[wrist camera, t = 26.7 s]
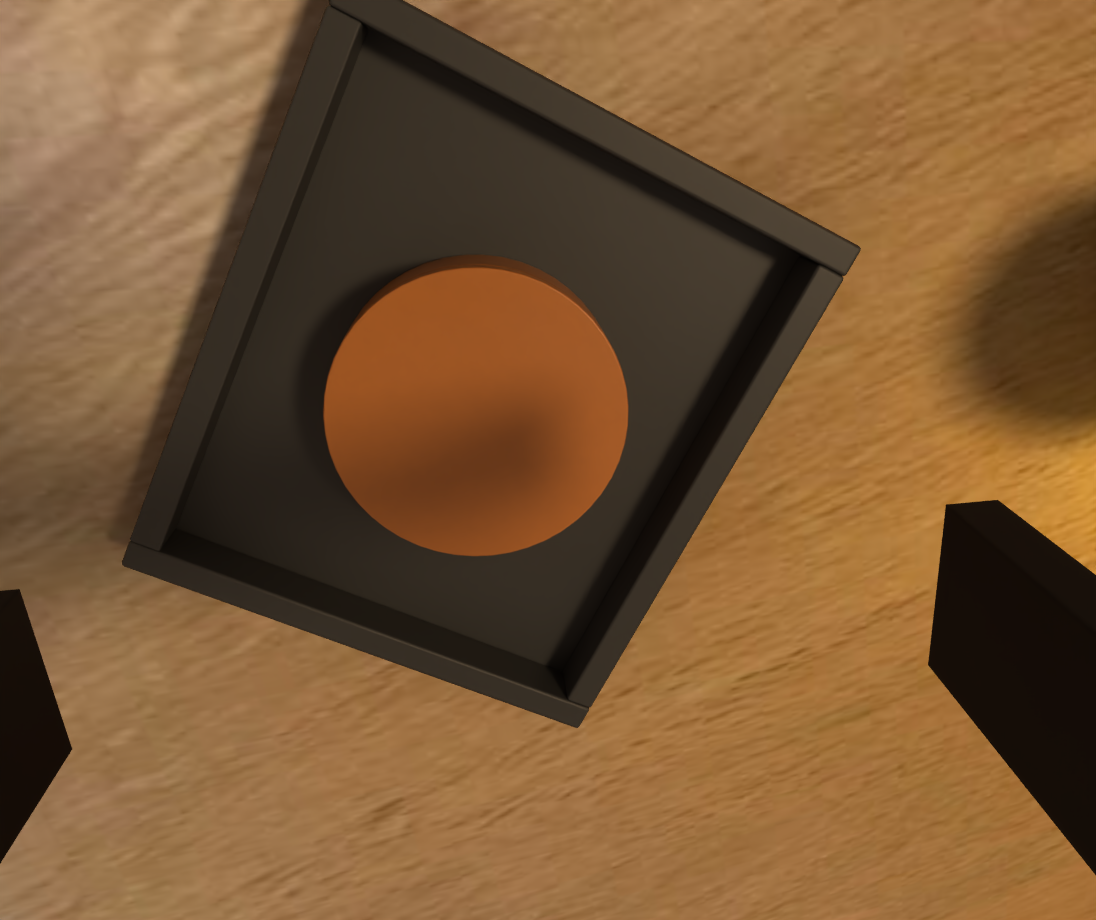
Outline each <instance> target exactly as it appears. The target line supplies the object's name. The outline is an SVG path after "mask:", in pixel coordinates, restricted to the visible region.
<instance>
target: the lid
mask: <svg viewBox="0 0 1096 920" xmlns="http://www.w3.org/2000/svg"><path fill="white" fill-rule="evenodd" d="M323 418H324V428H325V436H326V440H327V444H328V448H329V452H330V455H331V458H332V460H333V463H334V465H335V468H336V470H337V472H338V474H339V476H340V478H341V479H342V481H343V483H344V485H345V487H346V488H347V489H348V491H349V492H350V493H351V495H352V496H353V497H354V499H355V500H356V501H357V503H358V504H359V505H360V506H361V507H362V508H363V509H364V510H365V511H366V512H367V513H368V514H369V515H370V516H371V517H372V518H374V519H375V520H376V521H377V522H379V523H380V524H381V525H382V526H384V527H385V528H386V529H388V530H390V531H391V532H393V533H395V534H396V535H398V536H399V537H401V538H403V539H405V540H408V541H410V542H412V543H414V544H416V545H419V546H422V547H425V548H428V549H431V550H434V551H438V552H443V553H448V554H453V555H464V556H491V555H498V554H504V553H510V552H514V551H518V550H521V549H525V548H528V547H531V546H533V545H536V544H538V543H540V542H543V541H545V540H547V539H549V538H551V537H552V536H554V535H556V534H558V533H560V532H561V531H563V530H564V529H565V528H567V527H568V526H570V525H571V524H572V523H574V522H575V521H576V520H577V519H579V518H580V517H581V516H582V515H583V514H584V513H585V512H586V511H587V510H588V509H589V508H590V507H591V506H592V505H593V503H594V502H595V501H596V500H597V499H598V497H599V496H600V495H601V494H602V492H603V491H604V489H605V488H606V486H607V484H608V483H609V481H610V480H611V478H612V476H613V474H614V472H615V469H616V467H617V465H618V463H619V461H620V457H621V454H622V451H623V448H624V445H625V439H626V433H627V427H628V398H627V388H626V384H625V380H624V376H623V372H622V369H621V366H620V364H619V361H618V359H617V356H616V354H615V351H614V349H613V348H612V346H611V344H610V342H609V341H608V339H607V337H606V335H605V334H604V332H603V330H602V329H601V327H600V325H599V324H598V322H597V320H596V319H595V317H594V316H593V315H592V313H591V312H590V311H589V309H588V308H587V307H586V305H585V304H584V303H583V302H582V301H581V300H580V299H579V298H578V297H577V296H576V295H575V294H574V293H573V292H572V291H571V290H570V289H569V288H567V287H566V286H565V285H563V284H562V283H561V282H559V281H558V280H557V279H555V278H554V277H552V276H550V275H548V274H547V273H545V272H543V271H541V270H540V269H538V268H535V267H533V266H530V265H528V264H525V263H523V262H520V261H516V260H512V259H508V258H504V257H498V256H490V255H459V256H452V257H446V258H441V259H438V260H434V261H431V262H427V263H424V264H422V265H420V266H418V267H415V268H413V269H411V270H408V271H407V272H405V273H403V274H402V275H400V276H398V277H397V278H395V279H393V280H392V281H390V282H389V283H388V284H387V285H386V286H384V287H383V288H382V289H381V290H379V291H378V292H377V293H376V294H375V295H374V296H373V297H372V298H371V299H370V300H369V302H368V303H367V304H366V305H365V306H364V307H363V308H362V310H361V311H360V313H359V314H358V316H357V317H356V318H355V320H354V321H353V323H352V325H351V326H350V328H349V330H348V332H347V334H346V335H345V337H344V339H343V341H342V343H341V345H340V347H339V349H338V351H337V353H336V355H335V357H334V359H333V362H332V365H331V368H330V371H329V374H328V377H327V382H326V388H325V393H324V408H323Z"/></svg>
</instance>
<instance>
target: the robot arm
mask: <svg viewBox="0 0 1096 920" xmlns="http://www.w3.org/2000/svg"><path fill="white" fill-rule="evenodd" d="M928 665H929V667H930V668H931V669H932V670H933V672H934V673H935V674H936V675H937V677H938V678H939V679H940V680H941V682H942V683H943V684H944V685H945V687H946V688H947V689H948V690H949V692H950V693H951V694H952V695H953V697H954V698H955V699H956V700H957V702H958V703H959V704H960V705H961V707H962V708H963V709H964V710H965V712H966V713H967V714H968V715H969V717H970V718H971V719H972V720H973V722H974V723H975V724H976V726H977V727H978V728H979V729H980V731H981V732H982V733H983V734H984V736H985V737H986V738H987V739H988V741H989V742H990V743H991V744H992V746H993V747H994V748H995V749H996V751H997V752H998V753H999V754H1000V756H1001V757H1002V758H1003V759H1004V761H1005V762H1006V763H1007V764H1008V766H1009V767H1010V768H1011V769H1012V771H1013V772H1014V773H1015V774H1016V776H1017V777H1018V778H1019V779H1020V781H1021V782H1022V783H1023V784H1024V786H1025V787H1026V788H1027V789H1028V791H1029V792H1030V793H1031V794H1032V796H1033V797H1034V798H1035V799H1036V801H1037V802H1038V803H1039V805H1040V806H1041V807H1042V808H1043V810H1044V811H1045V812H1046V813H1047V815H1048V816H1049V817H1050V818H1051V820H1052V821H1053V822H1054V823H1055V825H1056V826H1057V827H1058V828H1059V830H1060V831H1061V832H1062V833H1063V835H1064V836H1065V837H1066V838H1067V840H1068V841H1069V842H1070V843H1071V845H1072V846H1073V847H1074V848H1075V850H1076V851H1077V852H1078V853H1079V855H1080V856H1081V857H1082V858H1083V860H1084V861H1085V862H1086V863H1087V865H1088V866H1089V867H1090V868H1091V870H1092V871H1093V872H1094V873H1095V875H1096V575H1095V574H1094V573H1092V572H1091V571H1090V570H1088V569H1087V568H1086V567H1084V566H1083V565H1082V564H1081V563H1079V562H1078V561H1077V560H1075V559H1074V558H1073V557H1071V556H1070V555H1069V554H1067V553H1066V552H1065V551H1064V550H1062V549H1061V548H1060V547H1058V546H1057V545H1056V544H1054V543H1053V542H1052V541H1051V540H1049V539H1048V538H1047V537H1045V536H1044V535H1043V534H1041V533H1040V532H1039V531H1038V530H1036V529H1035V528H1034V527H1032V526H1031V525H1030V524H1028V523H1027V522H1026V521H1024V520H1023V519H1022V518H1021V517H1019V516H1018V515H1017V514H1015V513H1014V512H1013V511H1011V510H1010V509H1009V508H1008V507H1006V506H1005V505H1004V504H1002V503H1001V502H1000V501H998V500H992V501H981V502H970V503H959V504H948V505H946V510H945V519H944V528H943V537H942V546H941V555H940V564H939V573H938V582H937V590H936V599H935V608H934V617H933V626H932V635H931V644H930V653H929V662H928ZM71 750H72V747H71V744H70V741H69V738H68V735H67V732H66V729H65V726H64V723H63V720H62V717H61V714H60V711H59V708H58V705H57V702H56V699H55V696H54V693H53V690H52V686H51V683H50V680H49V677H48V674H47V671H46V668H45V665H44V662H43V659H42V656H41V653H40V650H39V647H38V644H37V641H36V638H35V635H34V632H33V629H32V626H31V623H30V620H29V617H28V613H27V610H26V607H25V604H24V601H23V598H22V595H21V592H20V589H16V590H5V591H0V863H1V861H2V860H3V858H4V857H5V855H6V853H7V852H8V850H9V849H10V847H11V846H12V844H13V842H14V841H15V839H16V838H17V836H18V834H19V833H20V831H21V830H22V828H23V826H24V825H25V823H26V822H27V820H28V819H29V817H30V815H31V814H32V812H33V811H34V809H35V807H36V806H37V804H38V803H39V801H40V800H41V798H42V796H43V795H44V793H45V792H46V790H47V788H48V787H49V785H50V784H51V782H52V781H53V779H54V777H55V776H56V774H57V773H58V771H59V769H60V768H61V766H62V765H63V763H64V761H65V760H66V758H67V757H68V755H69V754H70V752H71Z"/></svg>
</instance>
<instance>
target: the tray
mask: <svg viewBox="0 0 1096 920" xmlns="http://www.w3.org/2000/svg"><path fill="white" fill-rule="evenodd" d="M329 4H330V6H327V7H326V9H325V12H324V15H323V17H322V20H321V23H320V25H319V28H318V31H317V34H316V36H315V39H314V42H313V44H312V47H311V50H310V53H309V55H308V58H307V61H306V63H305V66H304V69H303V71H302V74H301V77H300V80H299V82H298V85H297V88H296V90H295V93H294V96H293V99H292V101H291V104H290V107H289V109H288V112H287V115H286V118H285V120H284V123H283V126H282V128H281V131H280V134H279V137H278V139H277V142H276V145H275V147H274V150H273V153H272V156H271V158H270V161H269V164H268V166H267V169H266V172H265V175H264V177H263V180H262V183H261V185H260V188H259V191H258V194H257V196H256V199H255V202H254V204H253V207H252V210H251V213H250V215H249V218H248V221H247V223H246V226H245V229H244V231H243V234H242V237H241V240H240V242H239V245H238V248H237V250H236V253H235V256H234V259H233V261H232V264H231V267H230V269H229V272H228V275H227V278H226V280H225V283H224V286H223V288H222V291H221V294H220V297H219V299H218V302H217V305H216V307H215V310H214V313H213V316H212V318H211V321H210V324H209V326H208V329H207V332H206V335H205V337H204V340H203V343H202V345H201V348H200V351H199V354H198V356H197V359H196V362H195V364H194V367H193V370H192V373H191V375H190V378H189V381H188V383H187V386H186V389H185V392H184V394H183V397H182V400H181V402H180V405H179V408H178V410H177V413H176V416H175V419H174V421H173V424H172V427H171V429H170V432H169V435H168V438H167V440H166V443H165V446H164V448H163V451H162V454H161V457H160V459H159V462H158V465H157V467H156V470H155V473H154V476H153V478H152V481H151V484H150V486H149V489H148V492H147V495H146V497H145V500H144V503H143V505H142V508H141V511H140V514H139V516H138V519H137V522H136V524H135V527H134V530H133V533H132V535H131V538H130V540H131V541H130V542H129V544H128V547H127V550H126V552H125V555H124V558H123V560H122V565H123V566H125V567H128V568H131V569H133V570H136V571H139V572H142V573H145V574H147V575H150V576H153V577H156V578H159V579H161V580H164V581H167V582H170V583H173V584H175V585H178V586H181V587H184V588H187V589H189V590H192V591H195V592H198V593H201V594H203V595H206V596H209V597H212V598H214V599H217V600H220V601H223V602H226V603H228V604H231V605H234V606H237V607H240V608H242V609H245V610H248V611H251V612H254V613H256V614H259V615H262V616H265V617H268V618H270V619H273V620H276V621H279V622H282V623H284V624H287V625H290V626H293V627H296V628H298V629H301V630H304V631H307V632H310V633H312V634H315V635H318V636H321V637H324V638H326V639H329V640H332V641H335V642H338V643H340V644H343V645H346V646H349V647H352V648H354V649H357V650H360V651H363V652H366V653H368V654H371V655H374V656H377V657H380V658H382V659H385V660H388V661H391V662H394V663H396V664H399V665H402V666H405V667H407V668H410V669H413V670H416V671H419V672H421V673H424V674H427V675H430V676H433V677H435V678H438V679H441V680H444V681H447V682H449V683H452V684H455V685H458V686H461V687H463V688H466V689H469V690H472V691H475V692H477V693H480V694H483V695H486V696H489V697H491V698H494V699H497V700H500V701H503V702H505V703H508V704H511V705H514V706H517V707H519V708H522V709H525V710H528V711H531V712H533V713H536V714H539V715H542V716H545V717H547V718H550V719H553V720H556V721H559V722H561V723H564V724H567V725H570V726H573V727H575V728H578V727H579V726H580V724H581V723H582V721H583V719H584V718H585V716H586V714H587V712H588V711H589V707H591V706H592V704H593V702H594V701H595V699H596V697H597V696H598V694H599V692H600V691H601V689H602V687H603V685H604V684H605V682H606V680H607V679H608V677H609V675H610V674H611V672H612V670H613V669H614V667H615V665H616V663H617V662H618V660H619V658H620V657H621V655H622V653H623V652H624V650H625V648H626V647H627V645H628V643H629V641H630V640H631V638H632V636H633V635H634V633H635V631H636V630H637V628H638V626H639V625H640V623H641V621H642V619H643V618H644V616H645V614H646V613H647V611H648V609H649V608H650V606H651V604H652V603H653V601H654V599H655V597H656V596H657V594H658V592H659V591H660V589H661V587H662V586H663V584H664V582H665V581H666V579H667V577H668V575H669V574H670V572H671V570H672V569H673V567H674V565H675V564H676V562H677V560H678V559H679V557H680V555H681V553H682V552H683V550H684V548H685V547H686V545H687V543H688V542H689V540H690V538H691V537H692V535H693V533H694V531H695V530H696V528H697V526H698V525H699V523H700V521H701V520H702V518H703V516H704V515H705V513H706V511H707V509H708V508H709V506H710V504H711V503H712V501H713V499H714V498H715V496H716V494H717V493H718V491H719V489H720V487H721V486H722V484H723V482H724V481H725V479H726V477H727V476H728V474H729V472H730V471H731V469H732V467H733V465H734V464H735V462H736V460H737V459H738V457H739V455H740V454H741V452H742V450H743V449H744V447H745V445H746V443H747V442H748V440H749V438H750V437H751V435H752V433H753V432H754V430H755V428H756V427H757V425H758V423H759V421H760V420H761V418H762V416H763V415H764V413H765V411H766V410H767V408H768V406H769V405H770V403H771V401H772V399H773V398H774V396H775V394H776V393H777V391H778V389H779V388H780V386H781V384H782V383H783V381H784V379H785V377H786V376H787V374H788V372H789V371H790V369H791V367H792V366H793V364H794V362H795V361H796V359H797V357H798V355H799V354H800V352H801V350H802V349H803V347H804V345H805V344H806V342H807V340H808V339H809V337H810V335H811V333H812V332H813V330H814V328H815V327H816V325H817V323H818V322H819V320H820V318H821V317H822V315H823V313H824V311H825V310H826V308H827V306H828V305H829V303H830V301H831V300H832V298H833V296H834V295H835V293H836V291H837V289H838V288H839V286H840V284H841V283H842V281H843V277H842V276H845V275H846V274H847V272H848V271H849V269H850V267H851V266H852V264H853V262H854V261H855V259H856V257H857V255H858V254H859V252H860V250H861V248H860V247H859V246H858V245H856V244H854V243H852V242H850V241H848V240H847V239H845V238H843V237H841V236H839V235H837V234H835V233H834V232H832V231H830V230H828V229H826V228H824V227H822V226H821V225H819V224H817V223H815V222H813V221H811V220H810V219H808V218H806V217H804V216H802V215H800V214H798V213H797V212H795V211H793V210H791V209H789V208H787V207H785V206H784V205H782V204H780V203H778V202H776V201H774V200H772V199H771V198H769V197H767V196H765V195H763V194H761V193H759V192H758V191H756V190H754V189H752V188H750V187H748V186H746V185H745V184H743V183H741V182H739V181H737V180H735V179H733V178H732V177H730V176H728V175H726V174H724V173H722V172H720V171H719V170H717V169H715V168H713V167H711V166H709V165H707V164H706V163H704V162H702V161H700V160H698V159H696V158H695V157H693V156H691V155H689V154H687V153H685V152H683V151H682V150H680V149H678V148H676V147H674V146H672V145H670V144H669V143H667V142H665V141H663V140H661V139H659V138H657V137H656V136H654V135H652V134H650V133H648V132H646V131H644V130H643V129H641V128H639V127H637V126H635V125H633V124H631V123H630V122H628V121H626V120H624V119H622V118H620V117H618V116H617V115H615V114H613V113H611V112H609V111H607V110H605V109H604V108H602V107H600V106H598V105H596V104H594V103H592V102H591V101H589V100H587V99H585V98H583V97H581V96H580V95H578V94H576V93H574V92H572V91H570V90H568V89H567V88H565V87H563V86H561V85H559V84H557V83H555V82H554V81H552V80H550V79H548V78H546V77H544V76H542V75H541V74H539V73H537V72H535V71H533V70H531V69H529V68H528V67H526V66H524V65H522V64H520V63H518V62H516V61H515V60H513V59H511V58H509V57H507V56H505V55H503V54H502V53H500V52H498V51H496V50H494V49H492V48H490V47H489V46H487V45H485V44H483V43H481V42H479V41H477V40H476V39H474V38H472V37H470V36H468V35H466V34H465V33H463V32H461V31H459V30H457V29H455V28H453V27H452V26H450V25H448V24H446V23H444V22H442V21H440V20H439V19H437V18H435V17H433V16H431V15H429V14H427V13H426V12H424V11H422V10H420V9H418V8H416V7H414V6H413V5H411V4H409V3H407V2H405V1H403V0H329ZM459 255H490V256H498V257H504V258H508V259H512V260H516V261H520V262H523V263H525V264H528V265H530V266H533V267H535V268H538V269H540V270H541V271H543V272H545V273H547V274H548V275H550V276H552V277H554V278H555V279H557V280H558V281H559V282H561V283H562V284H563V285H565V286H566V287H567V288H569V289H570V290H571V291H572V292H573V293H574V294H575V295H576V296H577V297H578V298H579V299H580V300H581V301H582V302H583V303H584V304H585V305H586V307H587V308H588V309H589V311H590V312H591V313H592V315H593V316H594V317H595V319H596V320H597V322H598V324H599V325H600V327H601V329H602V330H603V332H604V334H605V335H606V337H607V339H608V341H609V342H610V344H611V346H612V348H613V349H614V351H615V354H616V356H617V359H618V361H619V364H620V366H621V369H622V372H623V376H624V380H625V384H626V388H627V398H628V427H627V433H626V439H625V445H624V448H623V451H622V454H621V457H620V461H619V463H618V465H617V467H616V469H615V472H614V474H613V476H612V478H611V480H610V481H609V483H608V484H607V486H606V488H605V489H604V491H603V492H602V494H601V495H600V496H599V497H598V499H597V500H596V501H595V502H594V503H593V505H592V506H591V507H590V508H589V509H588V510H587V511H586V512H585V513H584V514H583V515H582V516H581V517H580V518H579V519H577V520H576V521H575V522H574V523H572V524H571V525H570V526H568V527H567V528H565V529H564V530H563V531H561V532H560V533H558V534H556V535H554V536H552V537H551V538H549V539H547V540H545V541H543V542H540V543H538V544H536V545H533V546H531V547H528V548H525V549H521V550H518V551H514V552H510V553H504V554H498V555H491V556H464V555H453V554H448V553H443V552H438V551H434V550H431V549H428V548H425V547H422V546H419V545H416V544H414V543H412V542H410V541H408V540H405V539H403V538H401V537H399V536H398V535H396V534H395V533H393V532H391V531H390V530H388V529H386V528H385V527H384V526H382V525H381V524H380V523H379V522H377V521H376V520H375V519H374V518H372V517H371V516H370V515H369V514H368V513H367V512H366V511H365V510H364V509H363V508H362V507H361V506H360V505H359V504H358V503H357V501H356V500H355V499H354V497H353V496H352V495H351V493H350V492H349V491H348V489H347V488H346V487H345V485H344V483H343V481H342V479H341V478H340V476H339V474H338V472H337V470H336V468H335V465H334V463H333V460H332V458H331V455H330V452H329V448H328V444H327V440H326V436H325V428H324V418H323V408H324V393H325V388H326V382H327V377H328V374H329V371H330V368H331V365H332V362H333V359H334V357H335V355H336V353H337V351H338V349H339V347H340V345H341V343H342V341H343V339H344V337H345V335H346V334H347V332H348V330H349V328H350V326H351V325H352V323H353V321H354V320H355V318H356V317H357V316H358V314H359V313H360V311H361V310H362V308H363V307H364V306H365V305H366V304H367V303H368V302H369V300H370V299H371V298H372V297H373V296H374V295H375V294H376V293H377V292H378V291H379V290H381V289H382V288H383V287H384V286H386V285H387V284H388V283H389V282H390V281H392V280H393V279H395V278H397V277H398V276H400V275H402V274H403V273H405V272H407V271H408V270H411V269H413V268H415V267H418V266H420V265H422V264H424V263H427V262H431V261H434V260H438V259H441V258H446V257H452V256H459Z"/></svg>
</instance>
